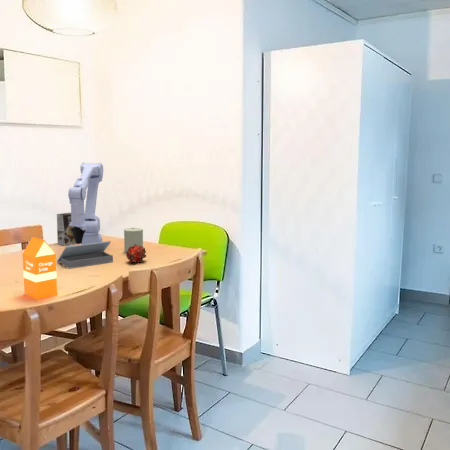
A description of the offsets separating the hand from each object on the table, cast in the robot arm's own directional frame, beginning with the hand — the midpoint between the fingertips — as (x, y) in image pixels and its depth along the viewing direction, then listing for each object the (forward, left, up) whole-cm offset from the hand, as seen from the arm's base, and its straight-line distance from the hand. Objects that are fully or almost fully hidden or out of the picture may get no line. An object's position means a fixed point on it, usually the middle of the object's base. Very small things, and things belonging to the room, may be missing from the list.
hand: (78, 243), depth 222 cm
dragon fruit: (-18, +20, -8) cm, 28 cm away
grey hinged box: (0, +9, -7) cm, 11 cm away
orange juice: (+32, +42, -8) cm, 53 cm away
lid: (0, +6, -3) cm, 6 cm away
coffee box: (-10, -37, -8) cm, 39 cm away
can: (-27, +2, -8) cm, 28 cm away
